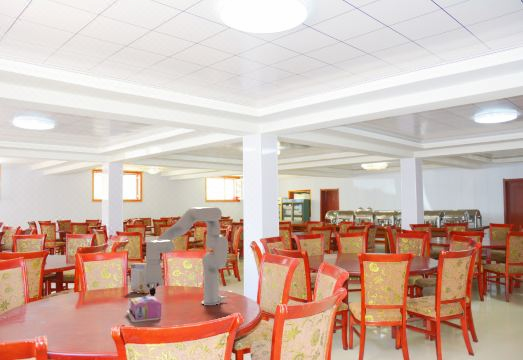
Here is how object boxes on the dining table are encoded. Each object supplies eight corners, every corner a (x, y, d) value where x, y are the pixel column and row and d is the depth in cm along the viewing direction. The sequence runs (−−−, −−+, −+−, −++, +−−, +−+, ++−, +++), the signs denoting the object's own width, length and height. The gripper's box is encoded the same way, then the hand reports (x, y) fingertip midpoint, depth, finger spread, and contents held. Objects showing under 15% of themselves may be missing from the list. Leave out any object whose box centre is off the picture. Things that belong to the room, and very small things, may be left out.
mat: (151, 309, 247) (151, 308, 247) (159, 319, 224) (159, 318, 224) (126, 311, 242) (126, 310, 242) (132, 322, 218) (132, 321, 218)
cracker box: (150, 292, 300) (150, 263, 301) (143, 294, 295) (144, 264, 296) (136, 291, 307) (137, 262, 309) (130, 292, 302) (130, 263, 304)
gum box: (152, 308, 247) (128, 311, 241) (152, 294, 247) (128, 297, 241) (161, 317, 225) (135, 320, 219) (161, 302, 226) (135, 305, 220)
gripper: (164, 261, 244) (164, 293, 242) (138, 262, 238) (137, 295, 236) (167, 262, 237) (167, 295, 235) (140, 264, 231) (139, 298, 229)
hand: (152, 295), depth 236 cm, fingers closed
